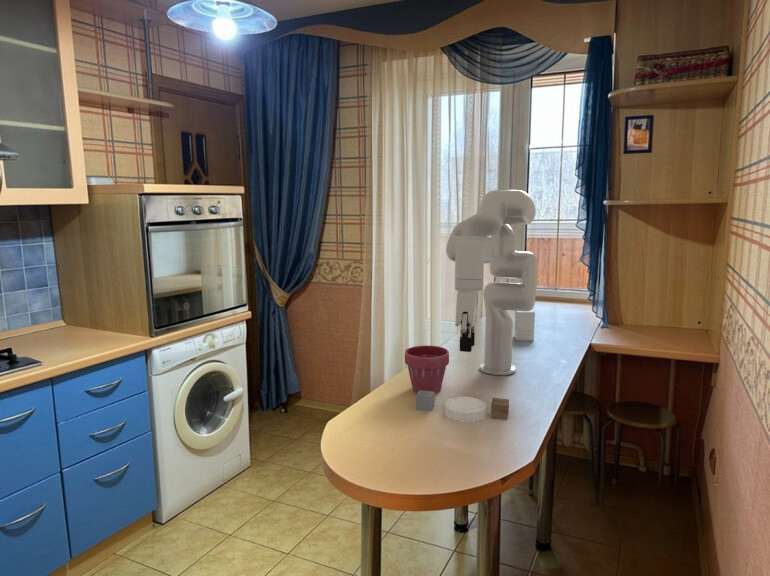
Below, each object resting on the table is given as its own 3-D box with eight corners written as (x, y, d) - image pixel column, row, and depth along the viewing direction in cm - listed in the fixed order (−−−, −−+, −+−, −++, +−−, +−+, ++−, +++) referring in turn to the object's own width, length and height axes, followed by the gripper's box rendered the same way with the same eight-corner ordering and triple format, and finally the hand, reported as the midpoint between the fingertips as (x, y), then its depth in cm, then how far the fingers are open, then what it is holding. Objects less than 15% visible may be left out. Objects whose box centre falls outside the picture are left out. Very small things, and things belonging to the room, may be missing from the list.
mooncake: (458, 403, 164) (458, 391, 163) (494, 413, 156) (494, 401, 156) (436, 415, 155) (436, 403, 154) (473, 427, 147) (473, 414, 147)
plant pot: (397, 384, 179) (397, 347, 177) (436, 379, 184) (436, 343, 182) (415, 400, 166) (415, 359, 164) (456, 394, 171) (457, 354, 169)
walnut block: (492, 412, 157) (492, 397, 156) (508, 414, 155) (509, 399, 154) (490, 418, 152) (491, 403, 152) (507, 420, 151) (507, 405, 150)
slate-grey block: (419, 404, 163) (419, 390, 162) (434, 406, 161) (434, 391, 161) (415, 410, 158) (416, 395, 158) (431, 411, 157) (431, 396, 156)
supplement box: (531, 336, 239) (532, 308, 237) (533, 341, 232) (535, 312, 229) (513, 336, 240) (515, 308, 237) (516, 340, 232) (517, 311, 230)
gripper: (460, 279, 158) (458, 339, 161) (449, 288, 142) (448, 356, 145) (486, 280, 156) (484, 341, 159) (478, 290, 140) (476, 358, 143)
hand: (467, 347), depth 152 cm, fingers open, 5 cm apart
